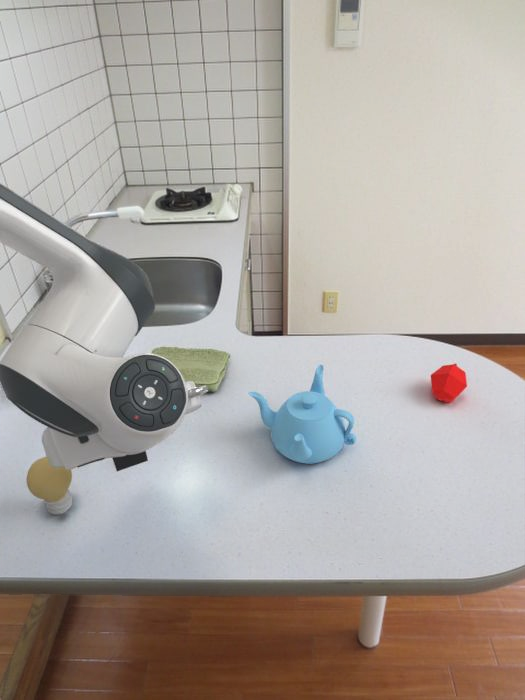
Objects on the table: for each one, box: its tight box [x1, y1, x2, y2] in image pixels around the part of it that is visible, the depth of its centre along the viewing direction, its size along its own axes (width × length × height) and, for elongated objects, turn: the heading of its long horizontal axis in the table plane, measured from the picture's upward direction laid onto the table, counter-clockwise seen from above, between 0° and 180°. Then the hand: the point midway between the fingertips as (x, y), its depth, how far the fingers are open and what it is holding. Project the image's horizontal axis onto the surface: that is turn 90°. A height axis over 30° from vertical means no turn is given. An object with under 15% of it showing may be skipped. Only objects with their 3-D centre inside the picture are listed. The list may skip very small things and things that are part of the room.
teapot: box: [248, 364, 357, 465], centre depth 90 cm, size 15×15×10 cm
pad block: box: [111, 450, 149, 472], centre depth 74 cm, size 4×4×9 cm
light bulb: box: [26, 456, 73, 516], centre depth 80 cm, size 6×6×10 cm
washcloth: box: [150, 346, 232, 393], centre depth 110 cm, size 13×18×3 cm
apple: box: [430, 363, 468, 404], centre depth 101 cm, size 7×7×8 cm
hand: (120, 428), depth 74 cm, fingers closed on pad block, 4 cm apart
